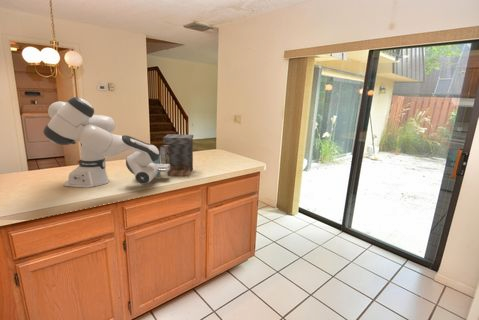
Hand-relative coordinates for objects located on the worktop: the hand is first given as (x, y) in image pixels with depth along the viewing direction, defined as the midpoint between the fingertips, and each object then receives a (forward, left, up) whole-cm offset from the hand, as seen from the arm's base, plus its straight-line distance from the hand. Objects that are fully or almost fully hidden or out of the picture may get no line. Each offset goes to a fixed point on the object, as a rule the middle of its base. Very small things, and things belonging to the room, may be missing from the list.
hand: (156, 164), depth 162 cm
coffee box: (+3, +22, -8) cm, 24 cm away
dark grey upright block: (+14, +5, -8) cm, 17 cm away
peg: (0, -1, -8) cm, 8 cm away
